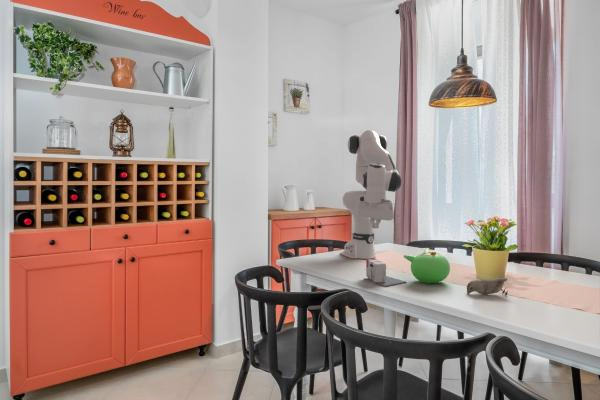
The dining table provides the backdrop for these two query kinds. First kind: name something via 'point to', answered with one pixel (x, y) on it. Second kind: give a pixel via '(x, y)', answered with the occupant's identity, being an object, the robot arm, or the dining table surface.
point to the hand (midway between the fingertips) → (375, 228)
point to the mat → (387, 281)
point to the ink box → (376, 270)
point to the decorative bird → (486, 286)
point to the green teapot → (429, 266)
